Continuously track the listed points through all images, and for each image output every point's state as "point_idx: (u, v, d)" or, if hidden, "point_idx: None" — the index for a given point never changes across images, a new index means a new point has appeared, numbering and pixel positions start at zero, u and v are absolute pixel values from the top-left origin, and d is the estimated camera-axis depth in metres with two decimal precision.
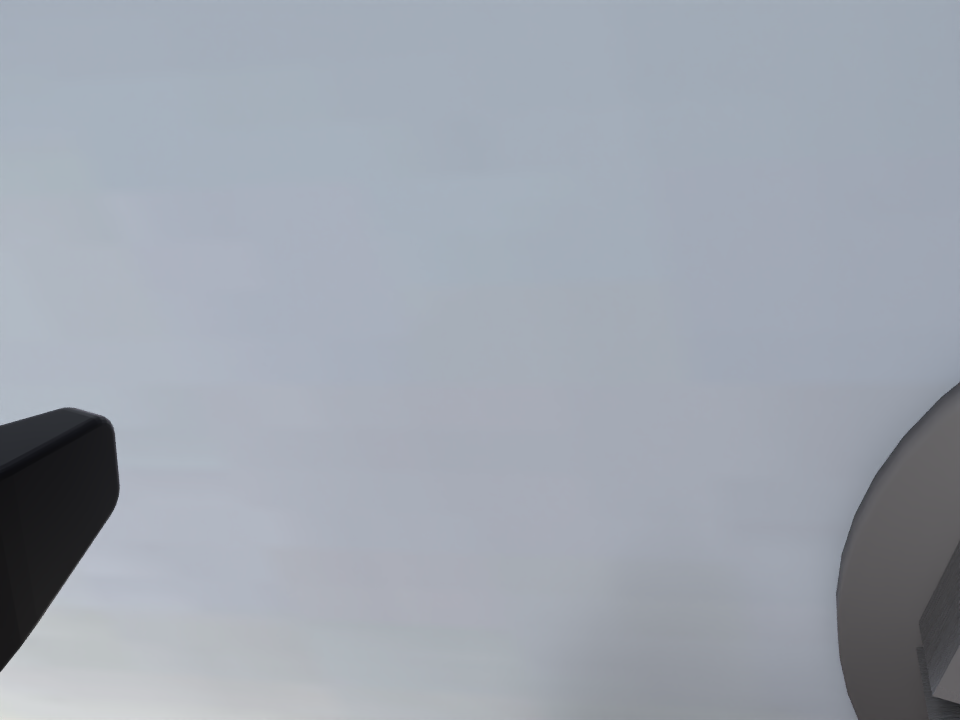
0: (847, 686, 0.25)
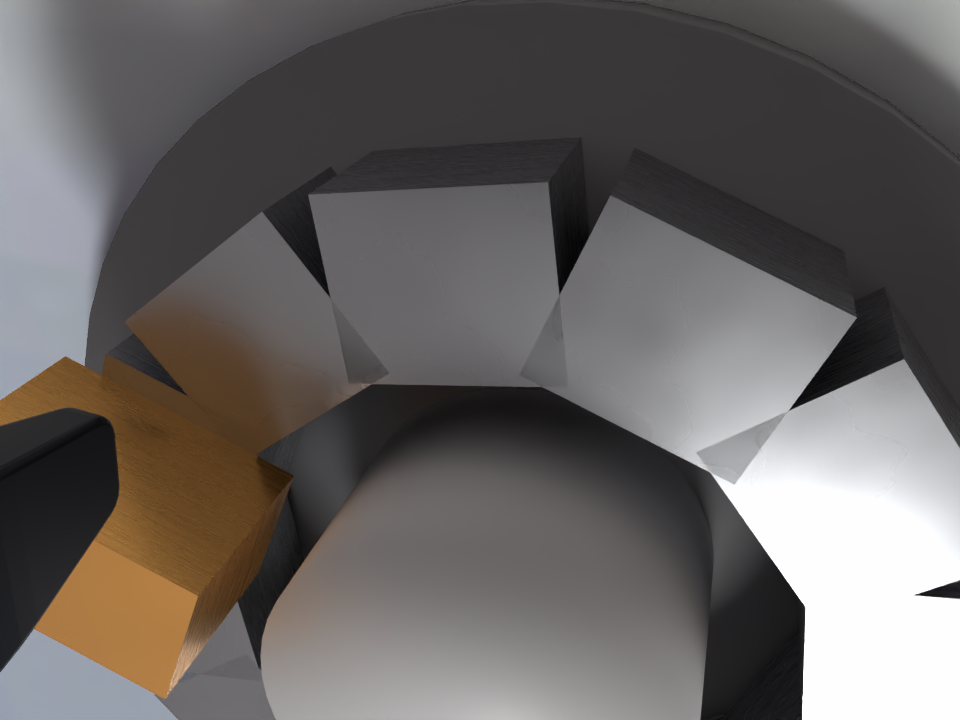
0: None
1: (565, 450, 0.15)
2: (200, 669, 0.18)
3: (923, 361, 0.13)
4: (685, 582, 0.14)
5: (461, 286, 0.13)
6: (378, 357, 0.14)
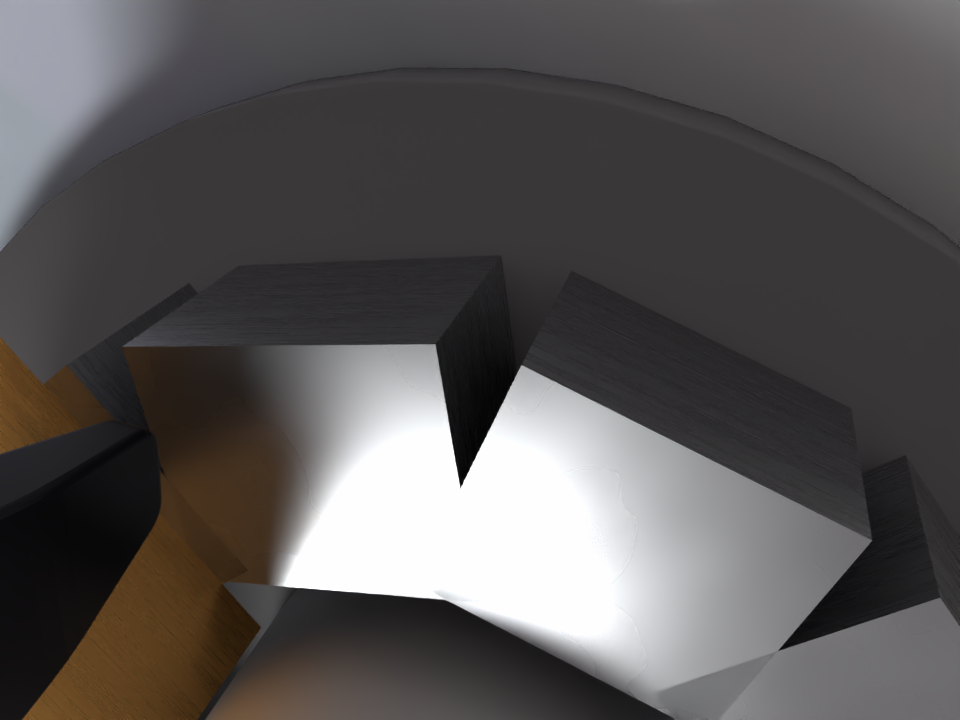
0: None
1: None
2: None
3: None
4: None
5: (656, 573, 0.09)
6: (477, 580, 0.09)
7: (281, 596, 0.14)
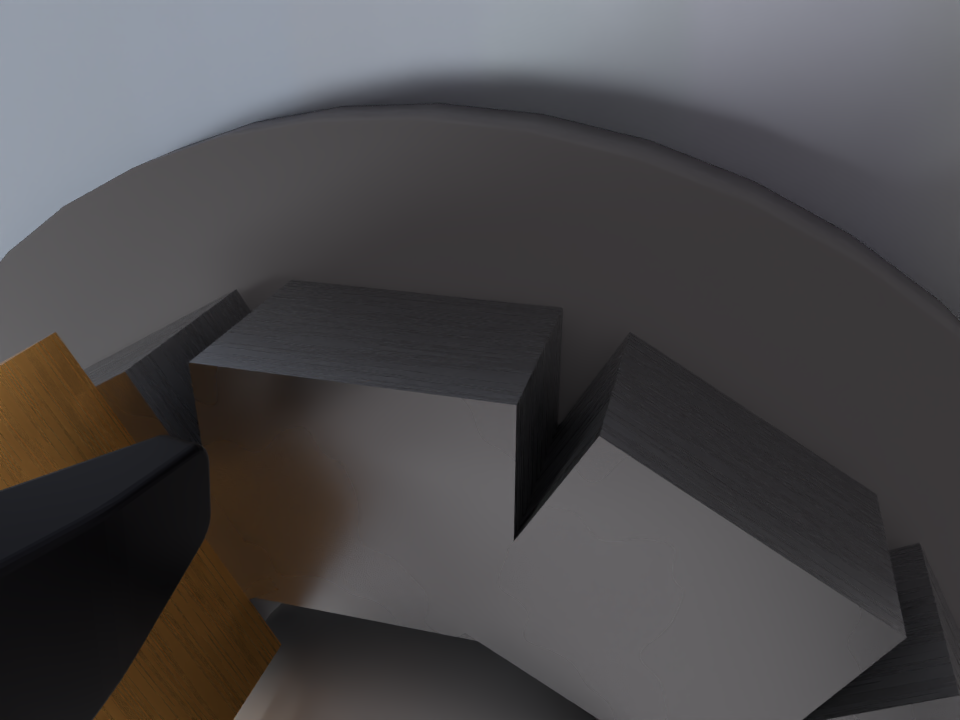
0: None
1: None
2: None
3: None
4: None
5: (692, 641, 0.09)
6: (513, 626, 0.10)
7: None
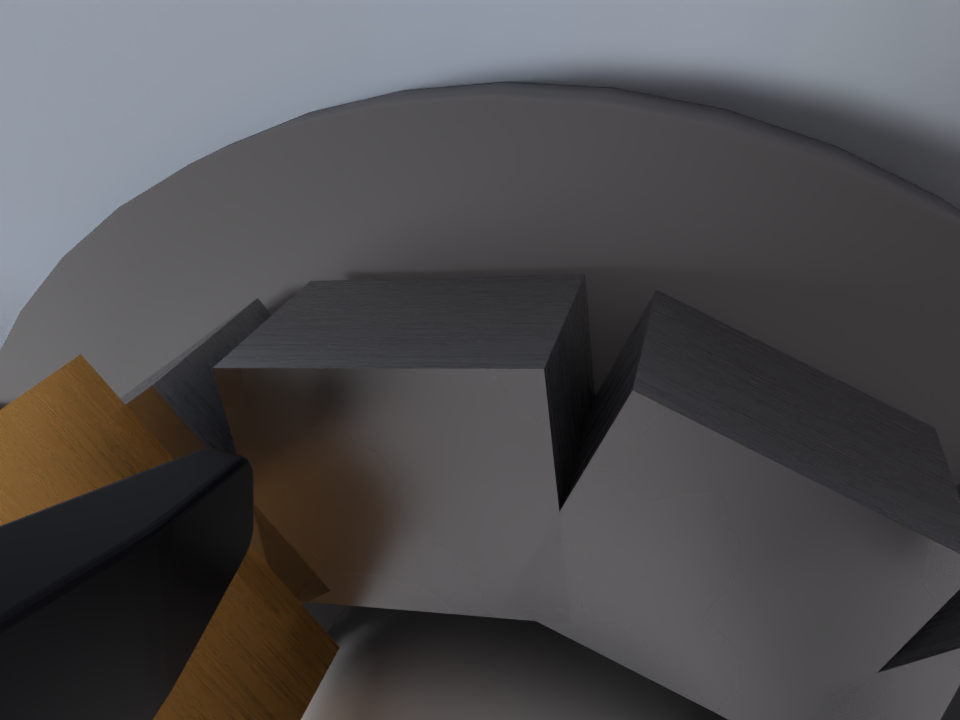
0: None
1: None
2: None
3: None
4: None
5: (757, 596, 0.09)
6: (570, 602, 0.09)
7: None
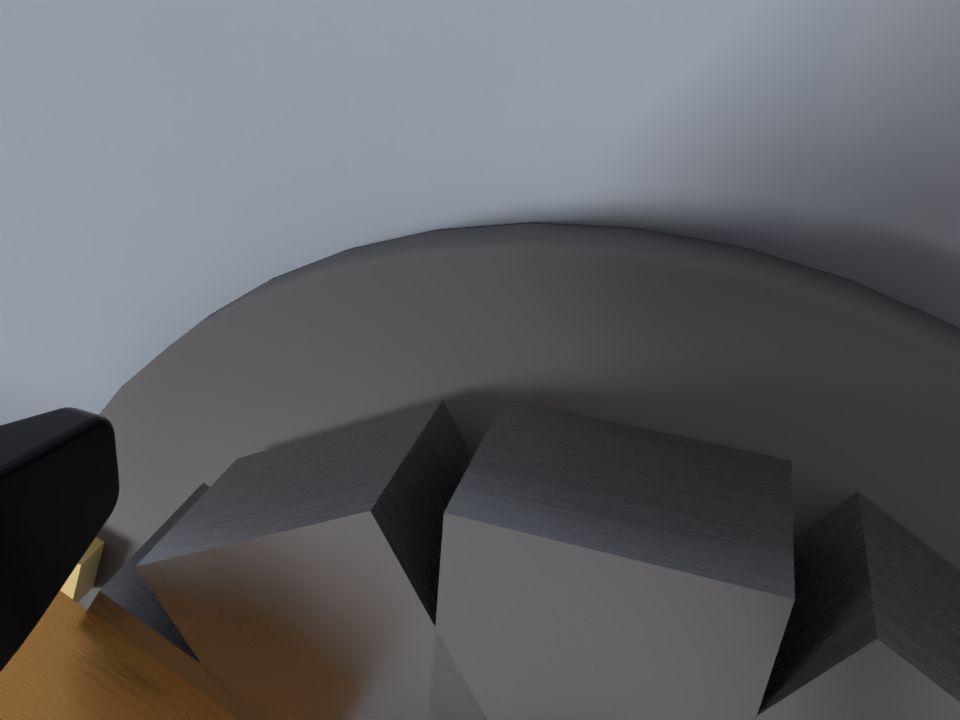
0: None
1: None
2: None
3: None
4: None
5: (623, 667, 0.09)
6: (479, 703, 0.10)
7: None
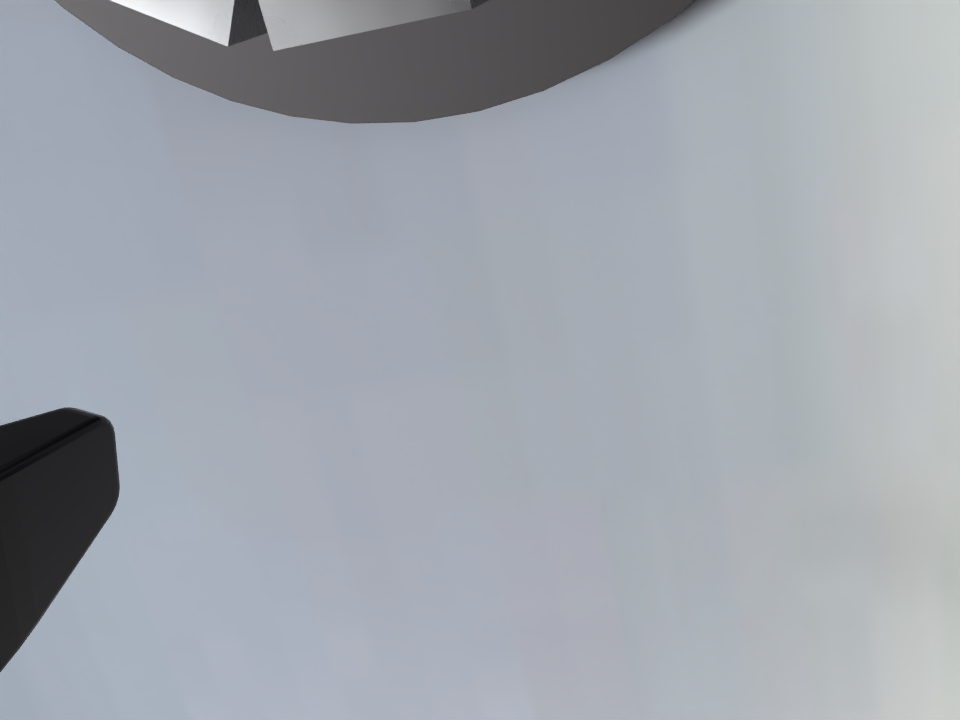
0: (528, 93, 0.17)
1: None
2: None
3: None
4: None
5: None
6: None
7: None
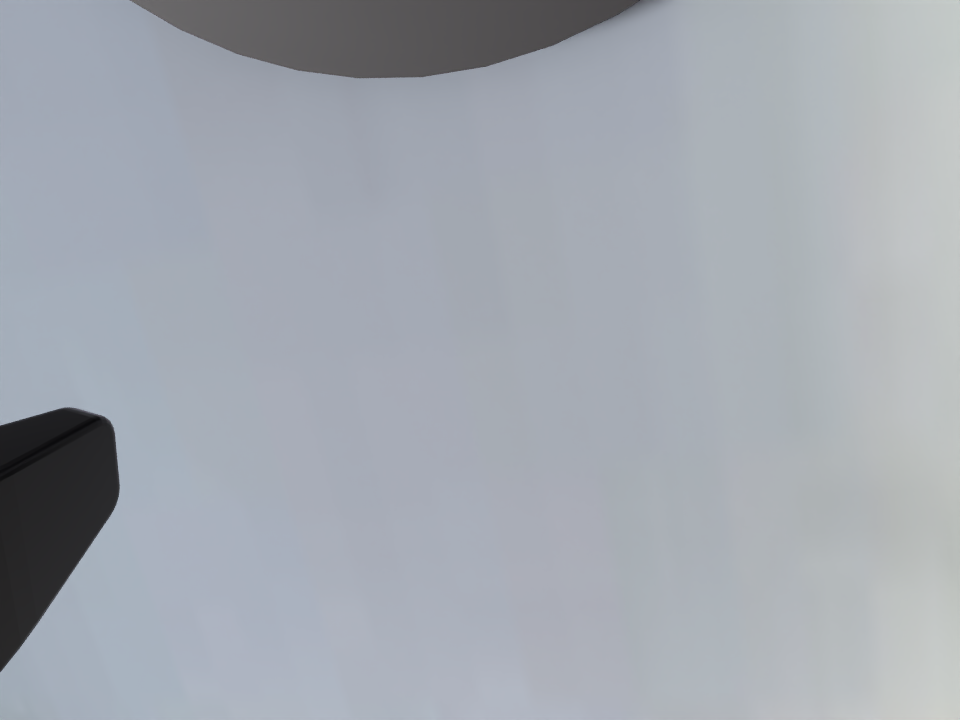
0: (537, 48, 0.17)
1: None
2: None
3: None
4: None
5: None
6: None
7: None
